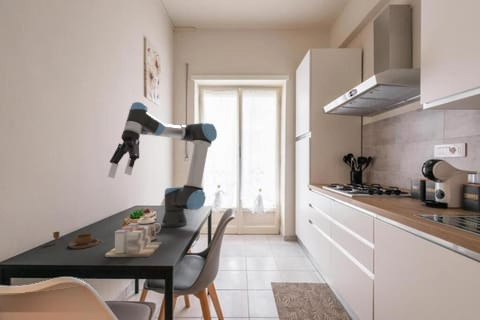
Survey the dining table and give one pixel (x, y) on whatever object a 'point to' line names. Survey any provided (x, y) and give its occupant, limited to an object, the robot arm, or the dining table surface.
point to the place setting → (79, 240)
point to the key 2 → (134, 225)
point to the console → (138, 244)
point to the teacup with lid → (149, 222)
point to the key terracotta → (128, 229)
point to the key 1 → (120, 241)
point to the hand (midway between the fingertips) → (119, 175)
